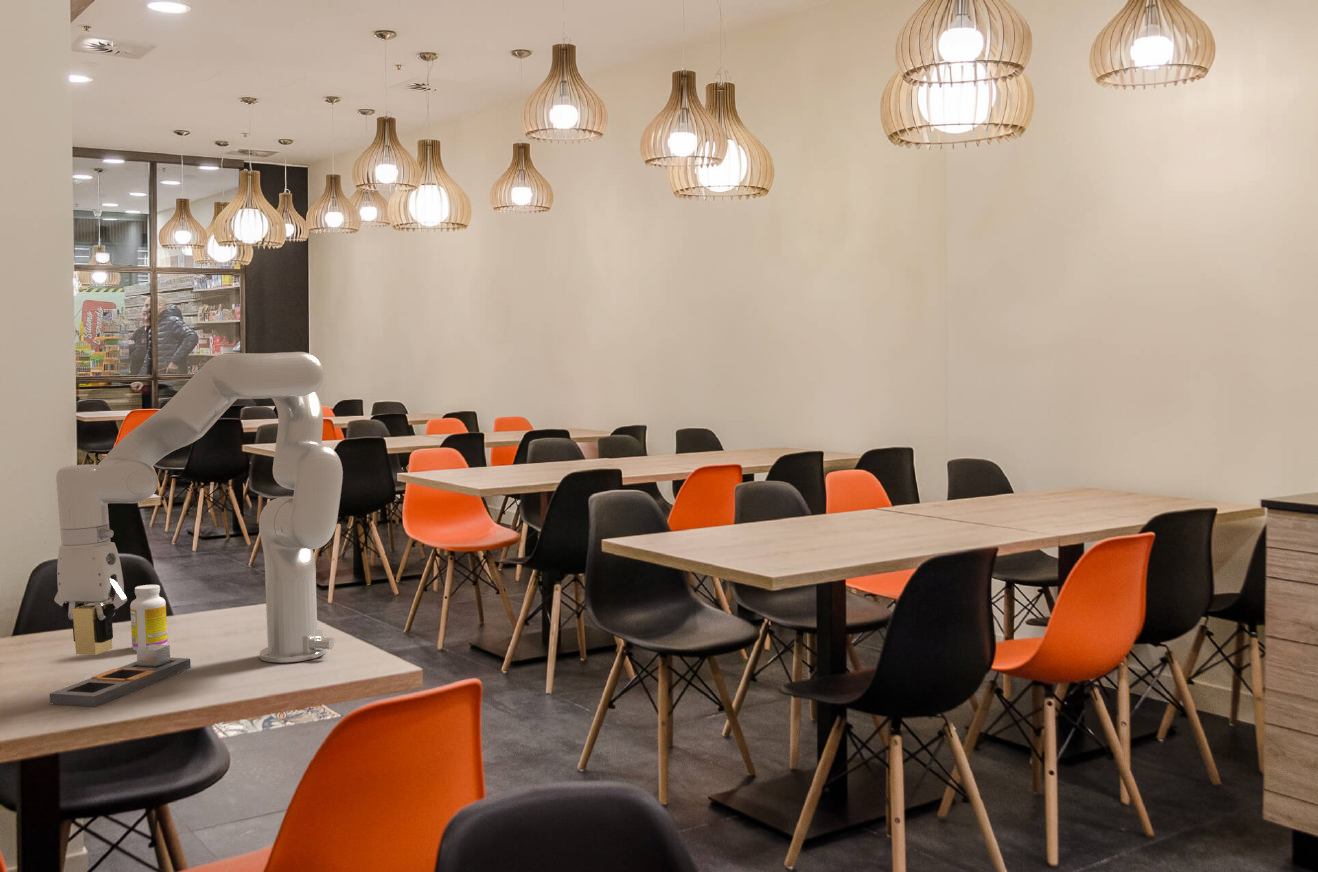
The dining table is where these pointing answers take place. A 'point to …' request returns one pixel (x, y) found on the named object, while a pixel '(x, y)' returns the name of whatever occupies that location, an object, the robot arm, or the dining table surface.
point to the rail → (116, 683)
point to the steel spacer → (153, 656)
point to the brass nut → (88, 631)
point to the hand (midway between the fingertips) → (93, 639)
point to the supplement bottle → (148, 617)
